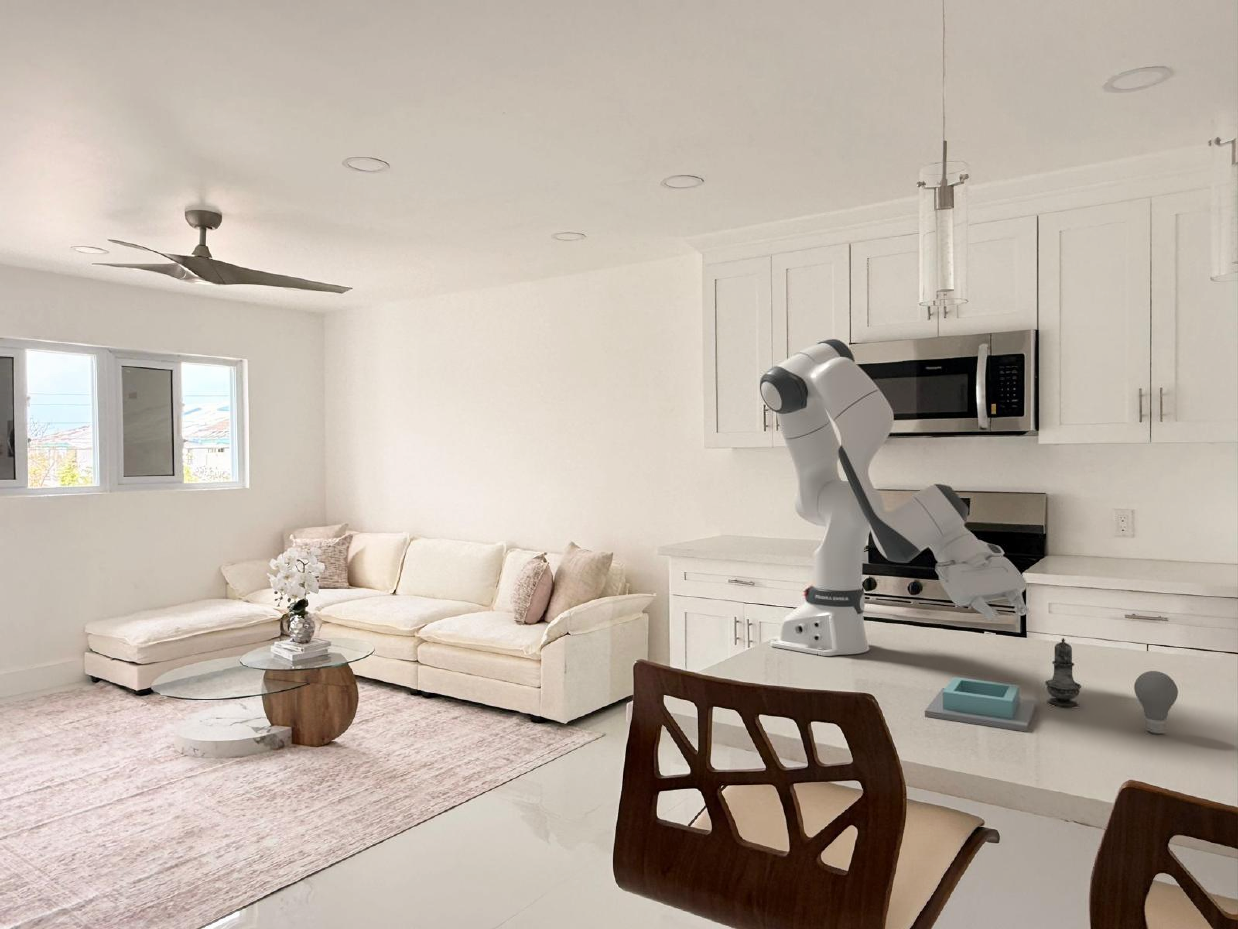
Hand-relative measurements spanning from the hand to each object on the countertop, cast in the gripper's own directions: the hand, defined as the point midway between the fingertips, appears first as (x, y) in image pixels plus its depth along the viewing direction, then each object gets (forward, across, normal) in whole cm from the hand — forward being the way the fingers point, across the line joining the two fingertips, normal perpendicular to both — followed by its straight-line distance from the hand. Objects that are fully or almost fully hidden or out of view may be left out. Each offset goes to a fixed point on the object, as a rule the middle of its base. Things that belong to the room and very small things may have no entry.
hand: (1010, 616), depth 161 cm
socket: (+13, -15, +7) cm, 21 cm away
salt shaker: (+17, +1, +4) cm, 18 cm away
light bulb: (+29, -2, -8) cm, 30 cm away
